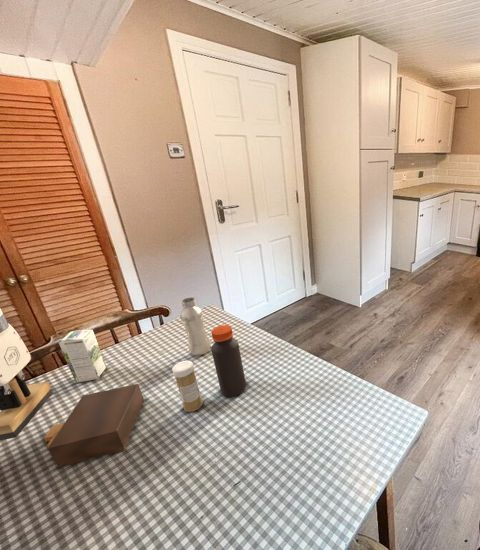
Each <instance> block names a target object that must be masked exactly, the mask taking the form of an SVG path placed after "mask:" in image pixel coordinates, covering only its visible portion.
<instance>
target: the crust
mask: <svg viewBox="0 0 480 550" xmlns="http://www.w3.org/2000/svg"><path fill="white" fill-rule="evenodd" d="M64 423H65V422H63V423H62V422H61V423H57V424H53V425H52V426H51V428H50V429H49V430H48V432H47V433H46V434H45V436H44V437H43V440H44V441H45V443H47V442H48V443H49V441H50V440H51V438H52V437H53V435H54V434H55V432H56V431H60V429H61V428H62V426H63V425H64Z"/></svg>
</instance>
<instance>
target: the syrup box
mask: <svg viewBox="0 0 480 550" xmlns="http://www.w3.org/2000/svg"><path fill="white" fill-rule="evenodd" d="M58 345H59V347H60V349H61V352H62V355H63V357H64V359H65V361H66V364H67V366H68V368H69V370H70V373H71V376H72V378H73V380H74V382H75V384H77V383H83V382H88V381H94V380H99V379H100V377H101V376H102V374H103V373H104V372H105V370H106V369H107V364H106V362H105V359H104V356H103V353H102V351H101V348H100V346H99V343H98V340H97V337H96V335H95V332H94V330H93V329H79V330H73V331H70V332H69V333H67V334H66V335H65V336H64V337H63V338H62V339H61V340H59V342H58Z"/></svg>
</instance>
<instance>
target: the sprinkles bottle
mask: <svg viewBox="0 0 480 550" xmlns="http://www.w3.org/2000/svg"><path fill="white" fill-rule="evenodd" d="M171 370H172V375H173V376H174V378H175V382H176V384H177V388H178V392H179V396H180V399H181V402H182V405H183V410H184V411H185V412H187V413H190V412H195V411H198V410H199V409H200V408H201V407H202V406H203V402H204V401H203V399H202V396H201V391H200V387H199V384H198V380H197V376H196V374H195V366H194V364H193V362H192V361H191V360H183V361H179V362H177V363H176V364H174V366H172V369H171Z"/></svg>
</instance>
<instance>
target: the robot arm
mask: <svg viewBox="0 0 480 550" xmlns="http://www.w3.org/2000/svg"><path fill="white" fill-rule="evenodd" d="M31 360H32V355H31V353H30V352H29V350H28V348H27V346H26V344H25V341H23V339H22V337H21V336H20V334H19V333H18V332H17V331H16V329H15V328H14V327H13V326H12V325H11V324H10V323H9V322H8V321H7V319H6V317H5V315H4V312H3V311H2V309H1V307H0V387H1V388H0V411H2V410H7V409H12V408H17V407H20V406H21V405H22V403H21V401H20V399H19V397H18V396H17V394H16V392H15V390H14V391H11V388H10V386H9V384H8V382H9V381H10V380H11V379H12V378H15V379H16V381H17V383H18V385H19V387H20V389H21V391H22V393H23V395H24V397H28V396H30V394H31V393H30V391H29V389H28V387H27V385H28V384H27V383H26V380H25V379H26V376H25V373H24V368H25V367H26V366H27V365H28V363H30V362H31Z"/></svg>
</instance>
